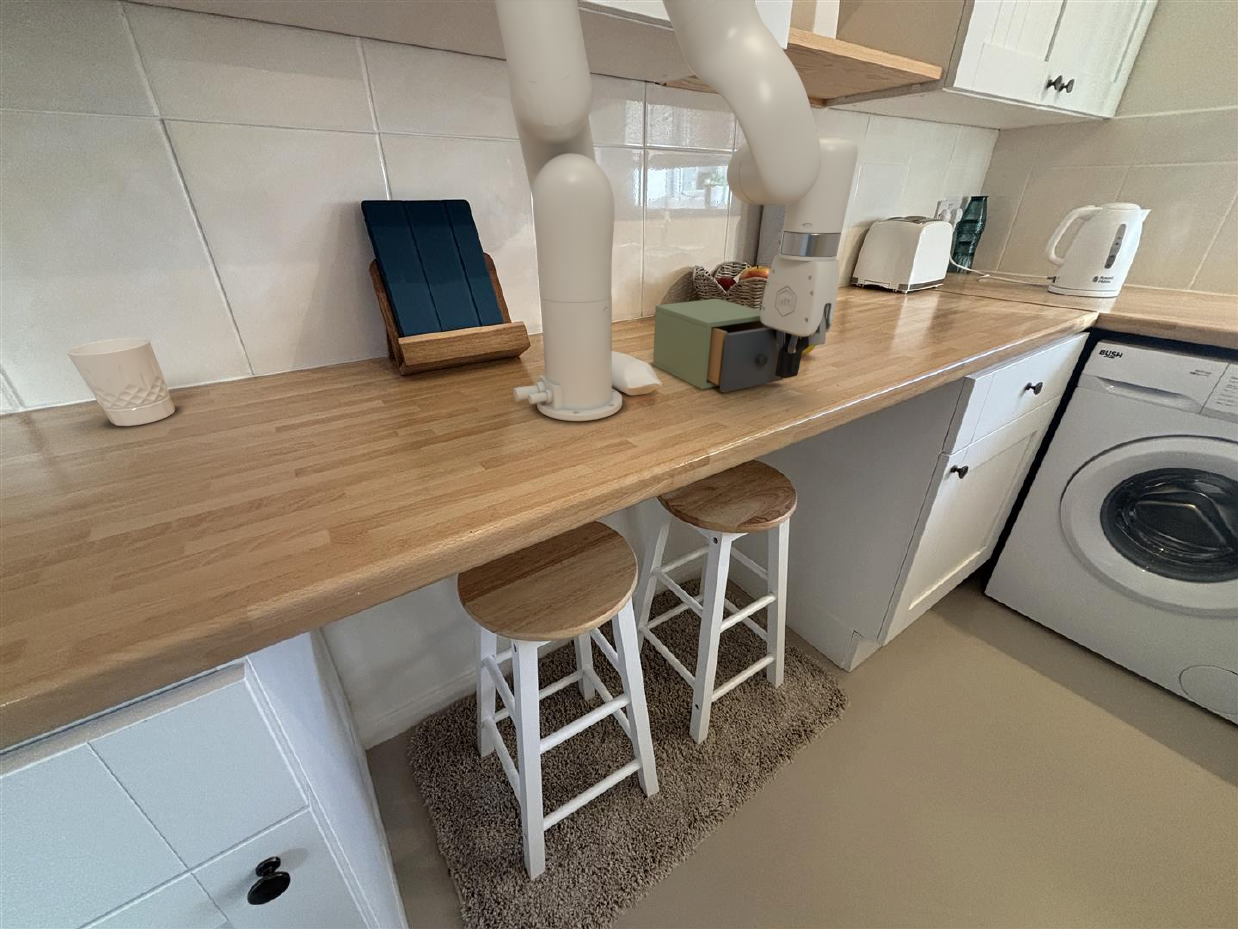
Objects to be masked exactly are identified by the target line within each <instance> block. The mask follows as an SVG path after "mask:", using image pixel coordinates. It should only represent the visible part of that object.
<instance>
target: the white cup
mask: <svg viewBox="0 0 1238 929" xmlns="http://www.w3.org/2000/svg"><path fill="white" fill-rule="evenodd" d="M66 354H67V355H68V357H69V359H70V360H71V362H72V363H73V365H74V366H75V369H76V370H77V372H78V373H79V375H80V377H81V378H82V379H83V381H84V383H85V385H86V386H87V388H88V389H89V391H90V393H91V394H92V395H93V396H94V398H95V401H96V402H97V403H98V404H99V405H100V407H102V410H103V411H104V413H105V414H106V416H107V418H108V420H109V421H110V423H111V424H113V425H115V426H117V427H133V426H141V425H145V424H150V423H154V422H157V421H161V420H164V419H166V418H168V417H170V416H171V415H173V414H174V413H175V411H176V407H175V405H174V402H173V400H172V397H171V395H170V391H169V388H168V385H167V383H166V379H165V377H164V375H163V372H162V369H161V367H160V364H159V361H158V359H157V356H156V354H155V352H154V349H153V346H152V345H151V341H150V339H149V338H148V339H147V338H144V337H119V338H112V339H103V340H97V341H92V342H88V343H83V344H79V345H76V346H72V347H70V348H69V349H67V350H66Z"/></svg>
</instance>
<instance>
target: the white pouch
mask: <svg viewBox="0 0 1238 929" xmlns="http://www.w3.org/2000/svg"><path fill="white" fill-rule="evenodd" d="M662 387H663V383H662V381H661V380H660V379H659V377H658V376H657V372H656V371H655V370H654V368H653V367H652V366H651V365H650V363H648V362H646V361H644V360H642V359H639V358H636V357H634V356H632V355H629V354H627V353H623V352H620V351H616V350H612V388H613V389H615V390H617V391H620V392H622V393H624V394H626V395H628V396H640V395H648V394H650V393H652V392H653V391H655V390H656V389H660V388H662Z"/></svg>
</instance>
